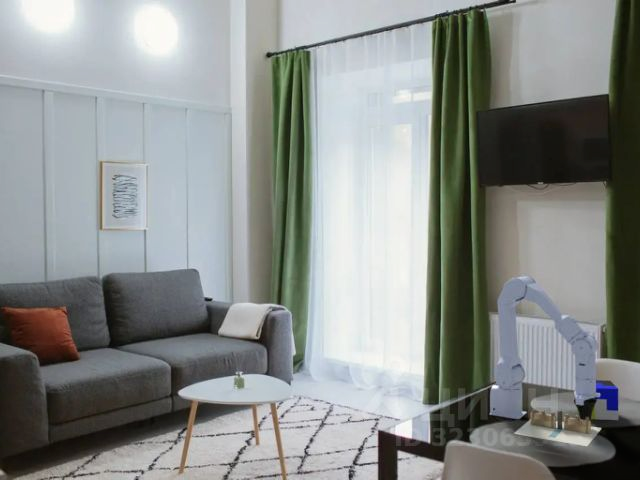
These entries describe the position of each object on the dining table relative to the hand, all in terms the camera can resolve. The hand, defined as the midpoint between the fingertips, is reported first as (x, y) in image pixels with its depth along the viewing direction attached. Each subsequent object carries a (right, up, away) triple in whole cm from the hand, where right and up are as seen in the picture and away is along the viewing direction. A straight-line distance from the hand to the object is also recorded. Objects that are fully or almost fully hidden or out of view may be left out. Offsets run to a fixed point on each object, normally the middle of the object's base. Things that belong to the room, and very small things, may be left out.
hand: (585, 423), depth 191 cm
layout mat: (-9, -2, -2) cm, 9 cm away
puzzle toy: (+9, -1, +12) cm, 15 cm away
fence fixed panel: (-11, -1, +2) cm, 11 cm away
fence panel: (-4, -1, -3) cm, 5 cm away
